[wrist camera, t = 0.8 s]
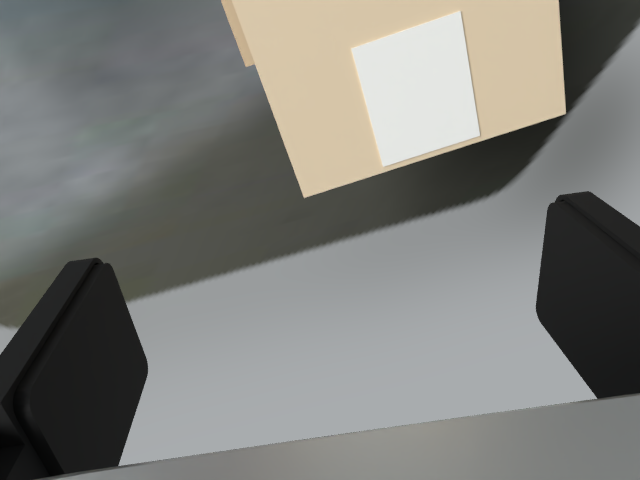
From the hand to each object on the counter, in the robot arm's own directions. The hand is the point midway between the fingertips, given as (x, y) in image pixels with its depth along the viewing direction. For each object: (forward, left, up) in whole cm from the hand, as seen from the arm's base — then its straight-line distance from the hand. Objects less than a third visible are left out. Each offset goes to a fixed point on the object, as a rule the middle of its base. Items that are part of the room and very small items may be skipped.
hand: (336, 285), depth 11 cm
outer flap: (-5, -3, -13) cm, 14 cm away
